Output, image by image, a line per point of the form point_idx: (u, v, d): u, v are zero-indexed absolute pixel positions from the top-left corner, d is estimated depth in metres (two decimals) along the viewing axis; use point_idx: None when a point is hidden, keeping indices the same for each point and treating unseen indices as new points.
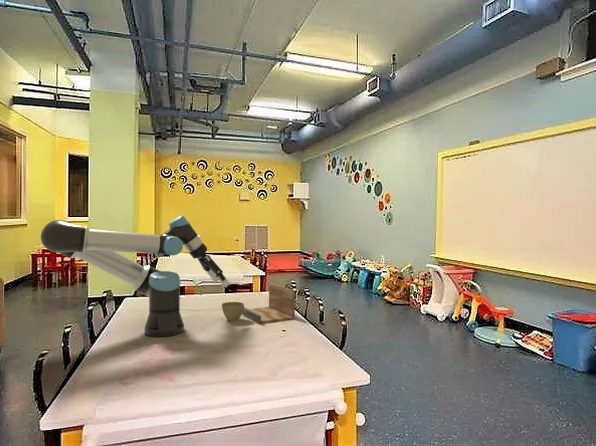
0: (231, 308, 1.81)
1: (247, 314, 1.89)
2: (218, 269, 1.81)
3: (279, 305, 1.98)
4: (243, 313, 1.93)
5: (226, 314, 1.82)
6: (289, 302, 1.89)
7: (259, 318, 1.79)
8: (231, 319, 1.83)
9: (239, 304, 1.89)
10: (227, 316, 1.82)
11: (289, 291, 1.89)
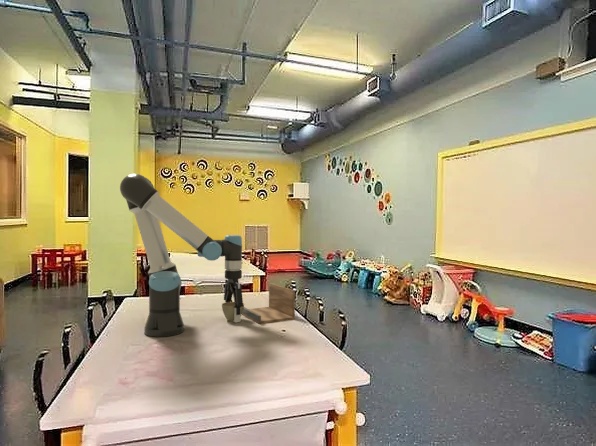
0: (231, 308, 1.81)
1: (247, 314, 1.89)
2: (241, 301, 1.79)
3: (279, 305, 1.98)
4: (243, 313, 1.93)
5: (226, 314, 1.82)
6: (289, 302, 1.89)
7: (259, 318, 1.79)
8: (231, 319, 1.83)
9: None
10: (227, 316, 1.82)
11: (289, 291, 1.89)
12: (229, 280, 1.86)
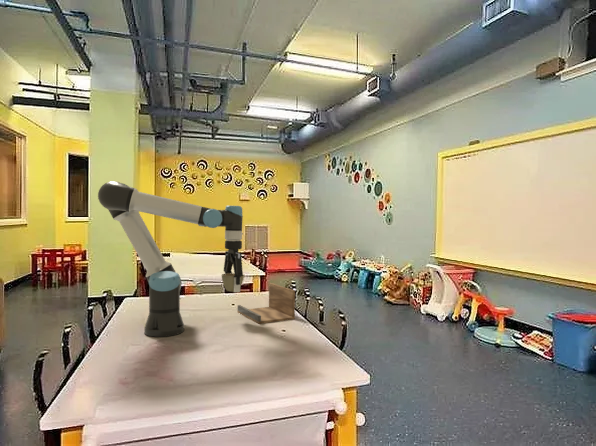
0: (231, 278, 1.80)
1: (247, 314, 1.89)
2: (240, 271, 1.78)
3: (279, 305, 1.98)
4: (243, 313, 1.93)
5: (226, 284, 1.82)
6: (289, 302, 1.89)
7: (259, 318, 1.79)
8: (231, 289, 1.82)
9: None
10: (227, 286, 1.82)
11: (289, 291, 1.89)
12: (229, 251, 1.86)
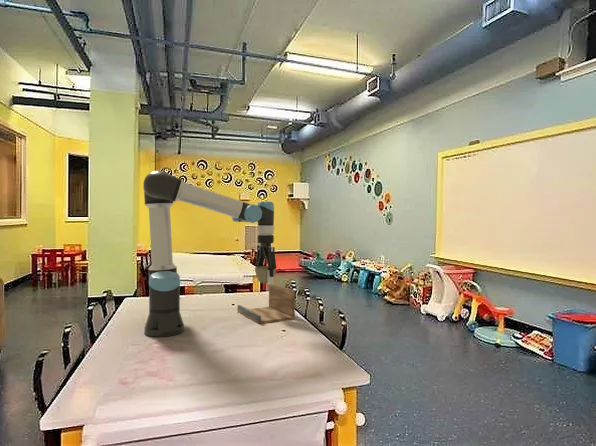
0: (265, 270, 1.88)
1: (247, 314, 1.89)
2: (274, 264, 1.86)
3: (279, 305, 1.98)
4: (243, 313, 1.93)
5: (259, 276, 1.90)
6: (289, 302, 1.89)
7: (259, 318, 1.79)
8: (264, 281, 1.90)
9: None
10: (260, 278, 1.90)
11: (289, 291, 1.89)
12: (261, 245, 1.94)
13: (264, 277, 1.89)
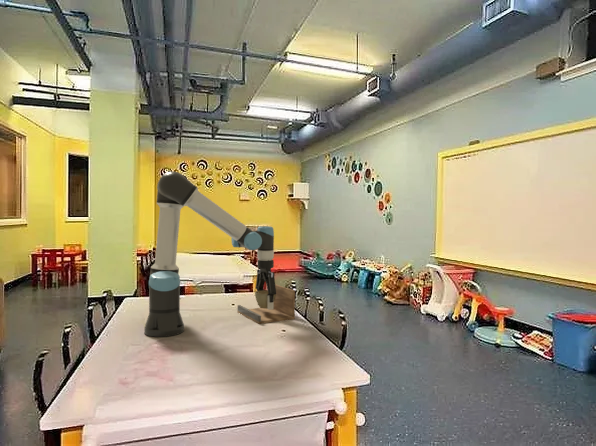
0: (265, 296, 1.89)
1: (247, 314, 1.89)
2: (274, 289, 1.87)
3: (279, 305, 1.98)
4: (243, 313, 1.93)
5: (259, 302, 1.90)
6: (289, 302, 1.89)
7: (259, 318, 1.79)
8: (264, 306, 1.91)
9: None
10: (260, 304, 1.90)
11: (289, 291, 1.89)
12: (261, 269, 1.94)
13: (264, 302, 1.89)
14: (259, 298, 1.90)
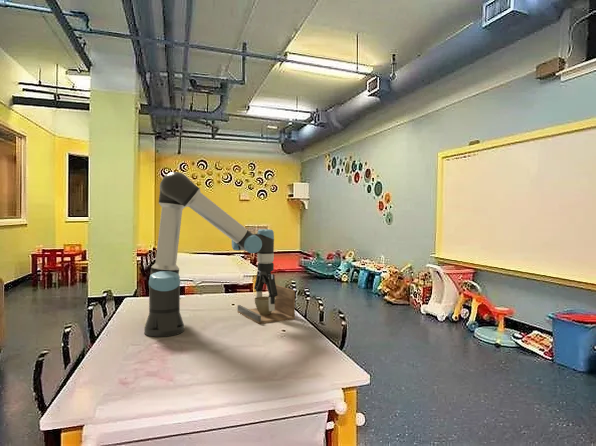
0: (264, 302, 1.89)
1: (247, 314, 1.89)
2: (275, 291, 1.86)
3: (279, 305, 1.98)
4: (243, 313, 1.93)
5: (259, 308, 1.90)
6: (289, 302, 1.89)
7: (259, 318, 1.79)
8: (264, 313, 1.91)
9: None
10: (260, 310, 1.90)
11: (289, 291, 1.89)
12: (261, 273, 1.94)
13: (264, 309, 1.90)
14: (259, 304, 1.90)
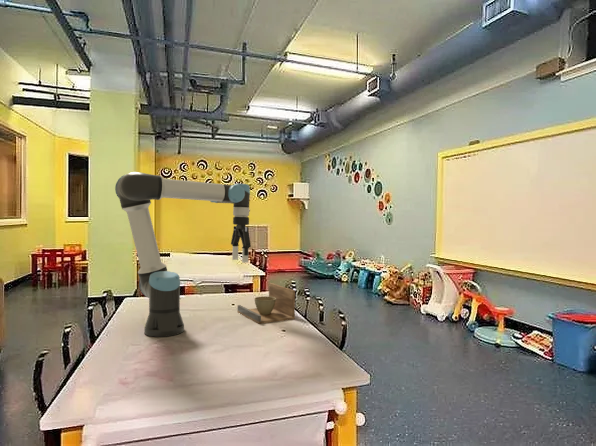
0: (264, 302, 1.89)
1: (247, 314, 1.89)
2: (248, 242, 1.89)
3: (279, 305, 1.98)
4: (243, 313, 1.93)
5: (259, 308, 1.90)
6: (289, 302, 1.89)
7: (259, 318, 1.79)
8: (264, 313, 1.91)
9: (270, 298, 1.98)
10: (260, 310, 1.90)
11: (289, 291, 1.89)
12: (237, 227, 1.98)
13: (264, 309, 1.90)
14: (259, 304, 1.90)
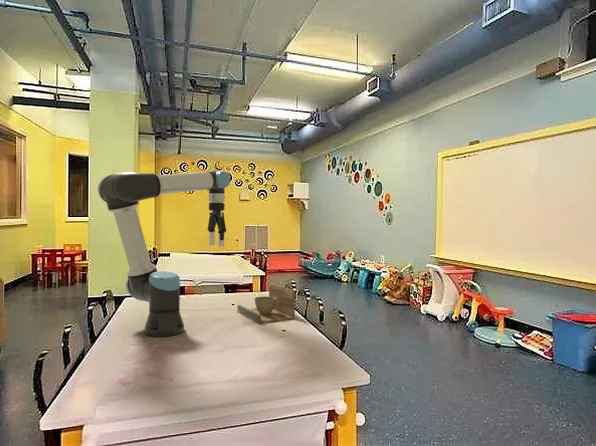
0: (264, 302, 1.89)
1: (247, 314, 1.89)
2: (224, 227, 1.94)
3: (279, 305, 1.98)
4: (243, 313, 1.93)
5: (259, 308, 1.90)
6: (289, 302, 1.89)
7: (259, 318, 1.79)
8: (264, 313, 1.91)
9: (270, 298, 1.98)
10: (260, 310, 1.90)
11: (289, 291, 1.89)
12: (213, 213, 2.02)
13: (264, 309, 1.90)
14: (259, 304, 1.90)
